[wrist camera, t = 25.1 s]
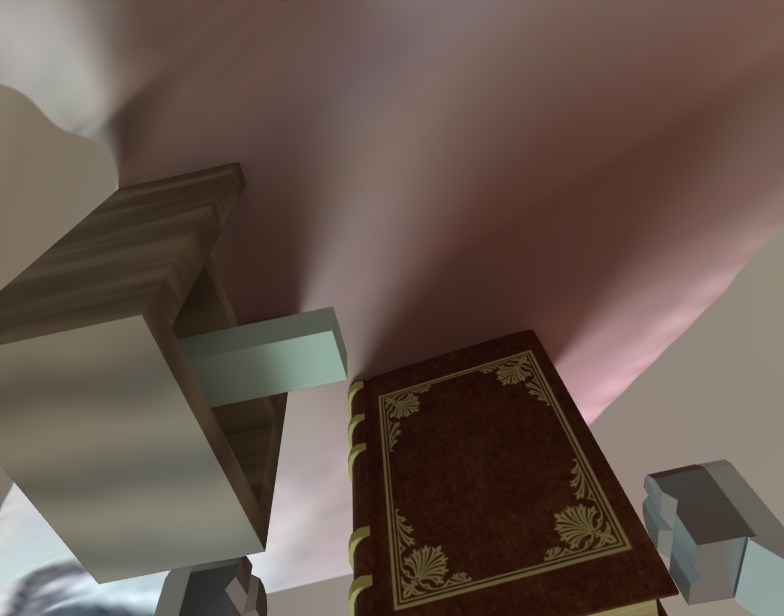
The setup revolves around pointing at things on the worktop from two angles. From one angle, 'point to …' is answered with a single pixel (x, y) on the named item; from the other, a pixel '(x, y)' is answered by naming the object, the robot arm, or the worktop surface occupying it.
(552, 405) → the decorative book
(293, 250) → the worktop surface
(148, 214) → the walnut shelf
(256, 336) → the pale green bar
